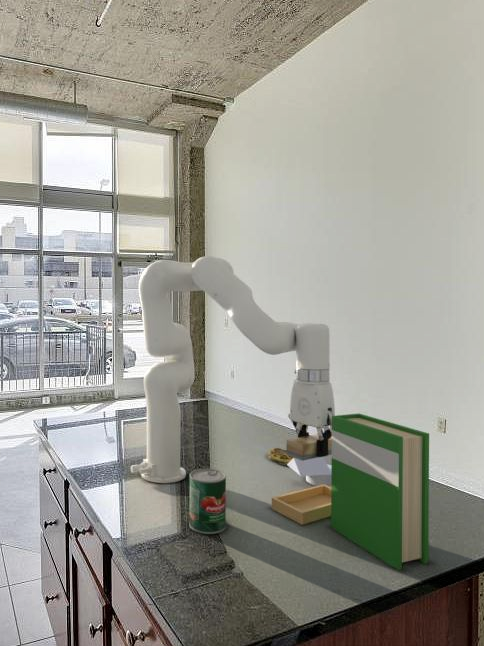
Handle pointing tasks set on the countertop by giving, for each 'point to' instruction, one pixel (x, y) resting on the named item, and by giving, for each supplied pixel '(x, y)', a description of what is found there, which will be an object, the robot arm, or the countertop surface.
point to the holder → (305, 504)
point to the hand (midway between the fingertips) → (312, 452)
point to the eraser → (305, 447)
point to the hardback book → (381, 487)
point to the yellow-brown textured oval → (279, 456)
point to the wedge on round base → (313, 470)
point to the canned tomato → (207, 501)
